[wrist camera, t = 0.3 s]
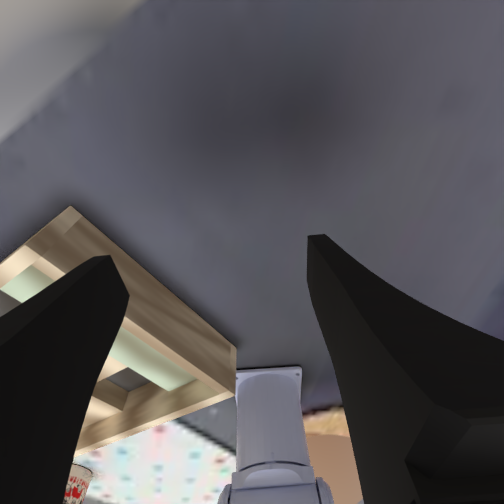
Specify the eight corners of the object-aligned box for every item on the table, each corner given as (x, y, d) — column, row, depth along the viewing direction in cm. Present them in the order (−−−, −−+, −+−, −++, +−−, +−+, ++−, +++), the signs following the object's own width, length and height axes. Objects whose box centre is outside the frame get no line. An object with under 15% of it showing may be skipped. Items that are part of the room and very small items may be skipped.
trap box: (70, 205, 20) (24, 244, 15) (236, 348, 29) (235, 395, 25) (-93, 338, 27) (-152, 388, 23) (83, 416, 37) (63, 461, 33)
